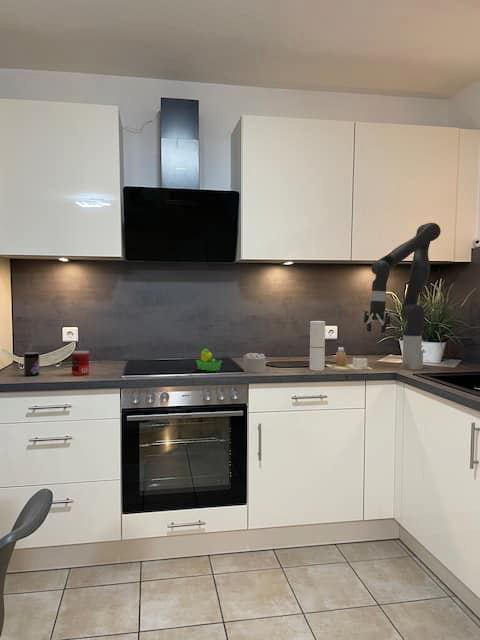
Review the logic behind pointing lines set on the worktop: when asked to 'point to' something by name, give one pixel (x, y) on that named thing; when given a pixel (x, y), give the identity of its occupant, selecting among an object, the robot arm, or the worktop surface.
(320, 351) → the cylindrical container
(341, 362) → the bottle
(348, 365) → the board
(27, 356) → the supplement container
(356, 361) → the white minus sign cube
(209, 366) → the fruit basket
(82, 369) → the canned food
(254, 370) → the lumpy-topped squat cylinder
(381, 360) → the worktop surface
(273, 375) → the worktop surface
